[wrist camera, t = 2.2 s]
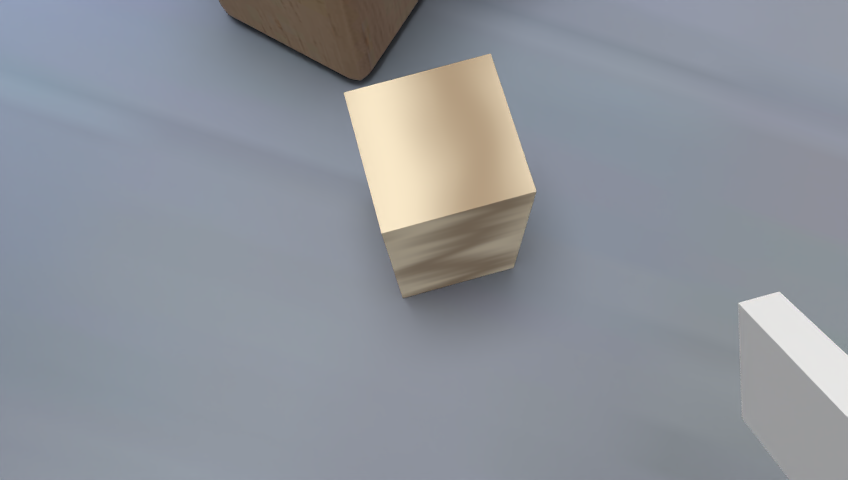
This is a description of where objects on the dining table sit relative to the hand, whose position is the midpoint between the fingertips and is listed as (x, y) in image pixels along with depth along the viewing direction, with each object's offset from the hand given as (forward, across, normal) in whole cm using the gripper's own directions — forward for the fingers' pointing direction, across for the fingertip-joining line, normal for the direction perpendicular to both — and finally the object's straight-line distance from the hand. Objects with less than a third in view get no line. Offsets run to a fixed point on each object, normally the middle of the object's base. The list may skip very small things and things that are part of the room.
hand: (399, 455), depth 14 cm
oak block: (+26, +3, -10) cm, 28 cm away
